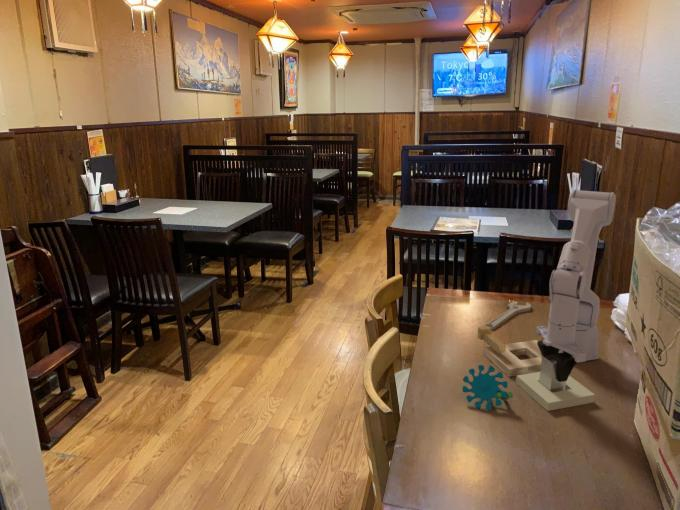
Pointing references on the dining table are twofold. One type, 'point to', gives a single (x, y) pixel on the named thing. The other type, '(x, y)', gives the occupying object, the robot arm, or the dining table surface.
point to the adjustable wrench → (508, 314)
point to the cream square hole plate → (555, 400)
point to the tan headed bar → (491, 339)
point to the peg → (550, 374)
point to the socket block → (511, 362)
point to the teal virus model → (486, 387)
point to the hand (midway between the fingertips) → (555, 375)
